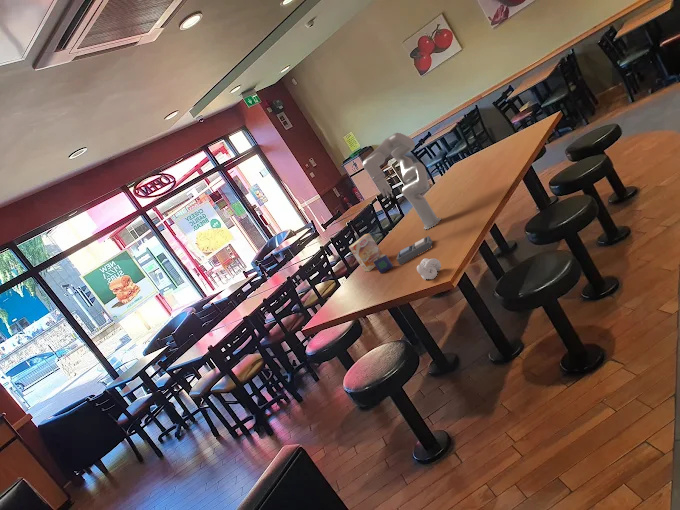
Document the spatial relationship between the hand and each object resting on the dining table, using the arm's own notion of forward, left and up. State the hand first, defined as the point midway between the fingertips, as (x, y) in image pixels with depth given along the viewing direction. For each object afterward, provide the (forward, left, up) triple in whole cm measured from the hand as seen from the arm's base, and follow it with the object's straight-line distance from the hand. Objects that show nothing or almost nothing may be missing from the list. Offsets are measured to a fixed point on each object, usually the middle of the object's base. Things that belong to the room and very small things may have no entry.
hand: (395, 203), depth 308 cm
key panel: (+15, -2, -29) cm, 33 cm away
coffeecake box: (-7, -34, -29) cm, 45 cm away
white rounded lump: (+65, +10, -29) cm, 72 cm away
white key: (+15, +3, -27) cm, 31 cm away
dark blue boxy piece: (+17, -22, -29) cm, 40 cm away
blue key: (+15, -7, -27) cm, 32 cm away
